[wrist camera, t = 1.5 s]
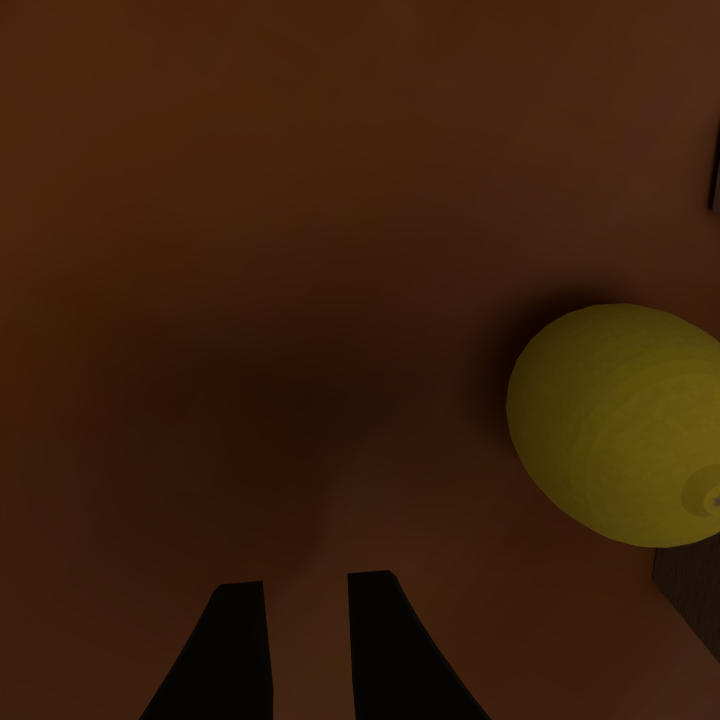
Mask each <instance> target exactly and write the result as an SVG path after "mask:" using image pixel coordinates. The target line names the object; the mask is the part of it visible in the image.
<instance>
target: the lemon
mask: <svg viewBox="0 0 720 720" xmlns="http://www.w3.org/2000/svg"><path fill="white" fill-rule="evenodd" d="M506 413H507V419H508V426H509V432H510V436H511V440H512V442H513V444H514V447H515V449H516V451H517V453H518V455H519V457H520V459H521V462H522V464H523V466H524V468H525V470H526V471H527V473H528V474H529V476H530V477H531V478H532V480H533V481H534V482H535V483H536V484H537V485H538V487H539V488H540V489H541V490H542V491H543V492H544V493H545V494H546V495H547V497H548V498H549V499H550V500H551V501H552V502H553V503H554V504H555V505H556V506H557V507H558V508H560V509H561V510H562V511H563V512H565V513H566V514H567V515H569V516H570V517H572V518H573V519H575V520H577V521H578V522H580V523H582V524H583V525H585V526H587V527H588V528H590V529H592V530H593V531H595V532H597V533H599V534H600V535H602V536H605V537H607V538H610V539H613V540H616V541H620V542H623V543H627V544H630V545H634V546H641V547H659V548H668V547H675V546H680V545H685V544H690V543H695V542H698V541H700V540H703V539H705V538H708V537H710V536H713V535H715V534H717V533H718V532H720V343H719V342H718V341H717V340H716V339H715V338H713V337H712V336H711V335H709V334H708V333H707V332H705V331H703V330H701V329H700V328H698V327H696V326H694V325H692V324H690V323H689V322H687V321H685V320H683V319H681V318H679V317H677V316H675V315H673V314H671V313H668V312H665V311H661V310H658V309H653V308H648V307H644V306H639V305H635V304H627V303H622V304H601V305H593V306H589V307H586V308H583V309H579V310H576V311H573V312H570V313H567V314H565V315H563V316H562V317H560V318H558V319H556V320H555V321H553V322H551V323H549V324H548V325H546V326H545V327H544V328H543V329H542V330H541V331H540V332H539V333H538V334H536V335H535V336H534V337H533V338H532V339H531V340H530V341H529V343H528V344H527V345H526V347H525V348H524V350H523V351H522V353H521V354H520V356H519V357H518V359H517V361H516V363H515V366H514V368H513V371H512V374H511V376H510V379H509V383H508V391H507V399H506Z"/></svg>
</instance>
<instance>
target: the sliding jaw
mask: <svg viewBox="0 0 720 720" xmlns="http://www.w3.org/2000/svg"><path fill="white" fill-rule="evenodd" d="M712 212H715V213H720V162H719V168H718V175H717V182H716V189H715V195H714V202H713V209H712Z"/></svg>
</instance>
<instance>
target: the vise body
mask: <svg viewBox="0 0 720 720" xmlns="http://www.w3.org/2000/svg"><path fill="white" fill-rule="evenodd" d="M652 580H653V581H654V582H655V584H656V585H657V586H658V587H659V589H660V590H661V591H662V592H663V594H664V595H665V596H666V597H667V599H668V600H669V601H670V602H671V604H672V605H673V606H674V607H675V609H676V610H677V611H678V612H679V614H680V615H681V616H682V617H683V619H684V620H685V621H686V622H687V624H688V625H689V626H690V627H691V629H692V630H693V631H694V632H695V634H696V635H697V636H698V637H699V639H700V640H701V641H702V642H703V644H704V645H705V646H706V647H707V649H708V650H709V651H710V652H711V654H712V655H713V656H714V657H715V659H716V660H717V661H718V662H719V664H720V532H718V533H717V534H715V535H713V536H710V537H708V538H705V539H703V540H700V541H698V542H695V543H690V544H685V545H680V546H675V547H668V548H659V547H657V550H656V557H655V564H654V571H653V578H652Z"/></svg>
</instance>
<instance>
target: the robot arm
mask: <svg viewBox="0 0 720 720" xmlns="http://www.w3.org/2000/svg"><path fill="white" fill-rule="evenodd" d="M347 575H348V596H349V618H350V639H351V660H352V682H353V693H354V704H355V716H356V720H491V719H490V717H489V716H488V715H487V714H486V712H485V711H484V710H483V709H482V708H481V706H480V705H479V704H478V702H477V701H476V700H475V698H474V697H473V696H472V695H471V693H470V692H469V691H468V689H467V688H466V687H465V685H464V684H463V683H462V681H461V680H460V678H459V677H458V676H457V674H456V673H455V671H454V670H453V669H452V667H451V666H450V664H449V663H448V662H447V660H446V659H445V657H444V656H443V655H442V653H441V652H440V650H439V649H438V647H437V646H436V644H435V643H434V641H433V640H432V638H431V637H430V635H429V634H428V632H427V631H426V629H425V627H424V626H423V624H422V623H421V621H420V620H419V618H418V616H417V615H416V613H415V611H414V610H413V608H412V606H411V605H410V603H409V601H408V599H407V597H406V596H405V594H404V592H403V590H402V588H401V586H400V584H399V582H398V580H397V577H396V576H395V575H394V574H393V573H391V572H390V571H389V570H384V571H372V572H361V573H349V574H347ZM139 720H273V681H272V671H271V661H270V652H269V642H268V632H267V622H266V612H265V602H264V592H263V582H262V581H257V582H245V583H233V584H222V585H220V586H219V587H218V588H217V589H216V590H215V591H214V592H213V593H212V596H211V598H210V600H209V602H208V604H207V606H206V608H205V610H204V612H203V613H202V615H201V617H200V619H199V621H198V623H197V625H196V627H195V628H194V630H193V632H192V634H191V636H190V637H189V639H188V641H187V643H186V644H185V646H184V648H183V650H182V651H181V653H180V655H179V656H178V658H177V660H176V662H175V663H174V665H173V666H172V668H171V670H170V671H169V673H168V674H167V676H166V678H165V679H164V681H163V682H162V684H161V686H160V687H159V689H158V690H157V692H156V694H155V695H154V697H153V698H152V700H151V702H150V703H149V705H148V706H147V708H146V709H145V711H144V712H143V714H142V715H141V717H140V718H139Z"/></svg>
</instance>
